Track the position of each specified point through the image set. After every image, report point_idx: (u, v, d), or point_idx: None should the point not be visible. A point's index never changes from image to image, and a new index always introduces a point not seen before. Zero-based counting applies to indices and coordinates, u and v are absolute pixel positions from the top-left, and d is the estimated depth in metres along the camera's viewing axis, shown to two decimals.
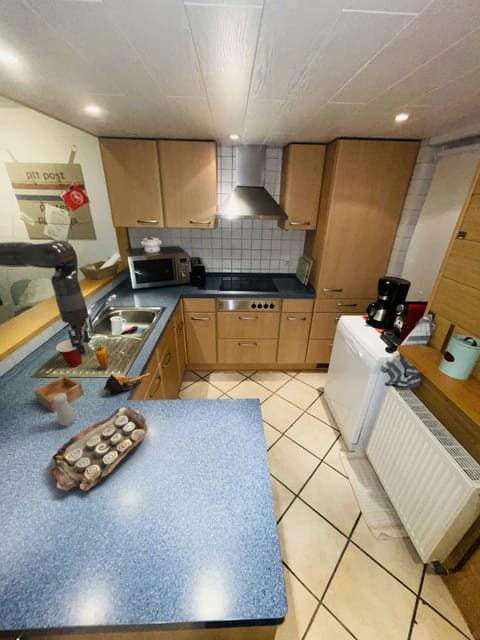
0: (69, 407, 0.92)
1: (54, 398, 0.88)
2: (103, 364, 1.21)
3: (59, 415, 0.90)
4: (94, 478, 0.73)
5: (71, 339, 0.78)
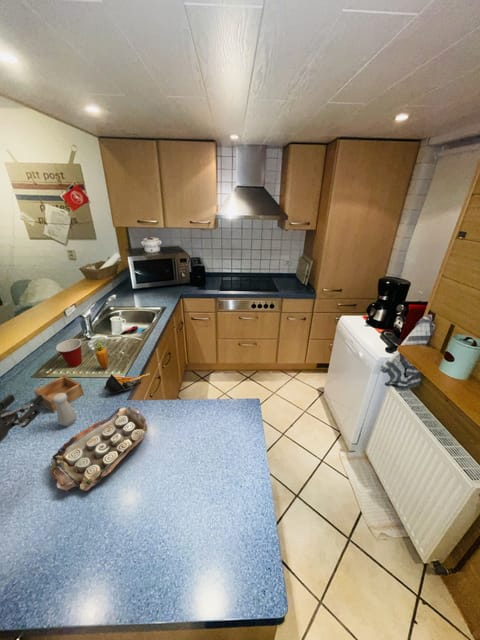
0: (69, 407, 0.92)
1: (54, 398, 0.88)
2: (103, 364, 1.21)
3: (59, 415, 0.90)
4: (94, 478, 0.73)
5: None
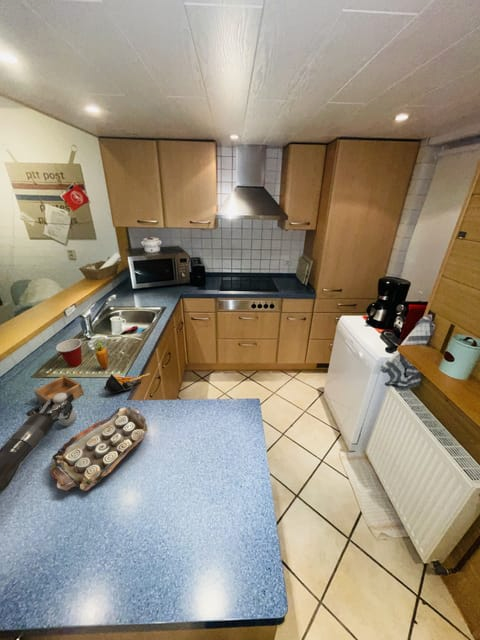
0: None
1: (54, 398, 0.88)
2: (103, 364, 1.21)
3: None
4: (94, 478, 0.73)
5: None
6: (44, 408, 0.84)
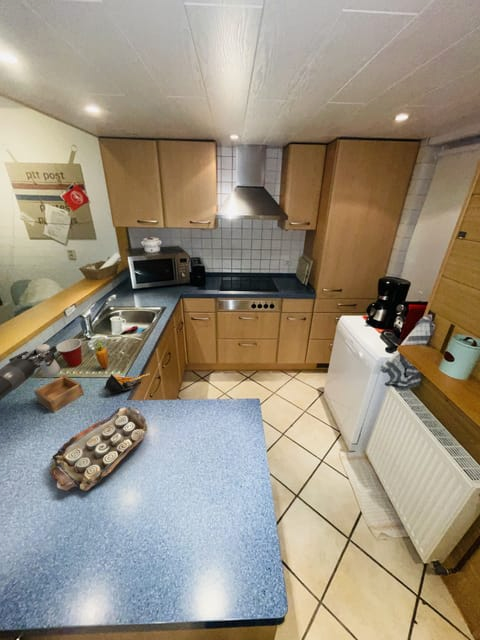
0: None
1: (37, 348, 0.91)
2: (103, 364, 1.21)
3: (42, 365, 0.93)
4: (94, 478, 0.73)
5: None
6: (27, 355, 0.88)
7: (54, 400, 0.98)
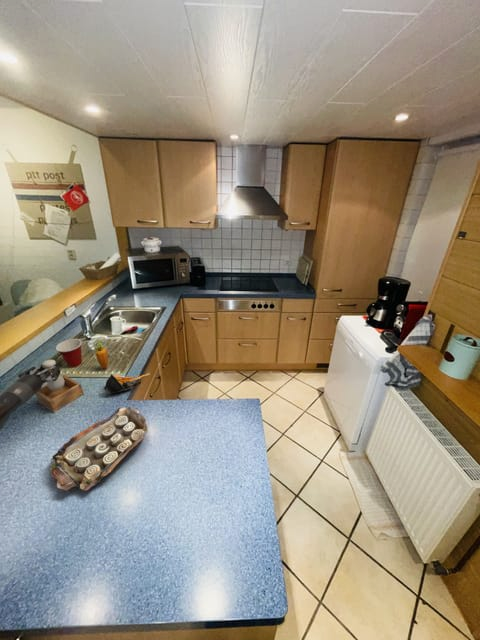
0: None
1: (44, 363, 0.97)
2: (103, 364, 1.21)
3: None
4: (94, 478, 0.73)
5: None
6: (34, 371, 0.94)
7: (54, 400, 0.98)
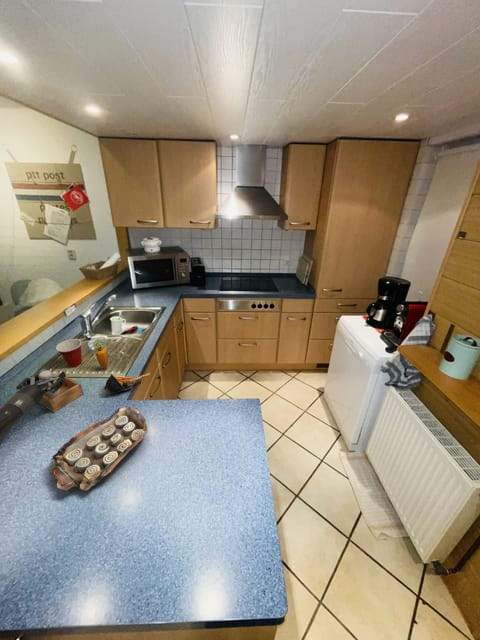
0: None
1: (40, 375, 0.98)
2: (103, 364, 1.21)
3: None
4: (94, 478, 0.73)
5: None
6: (33, 381, 0.94)
7: (54, 400, 0.98)
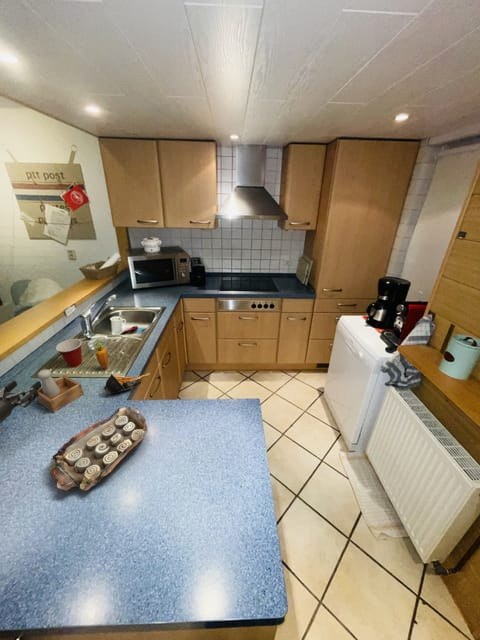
0: (53, 383, 1.02)
1: (39, 374, 0.98)
2: (103, 364, 1.21)
3: (44, 389, 1.00)
4: (94, 478, 0.73)
5: None
6: (1, 393, 0.81)
7: (54, 400, 0.98)
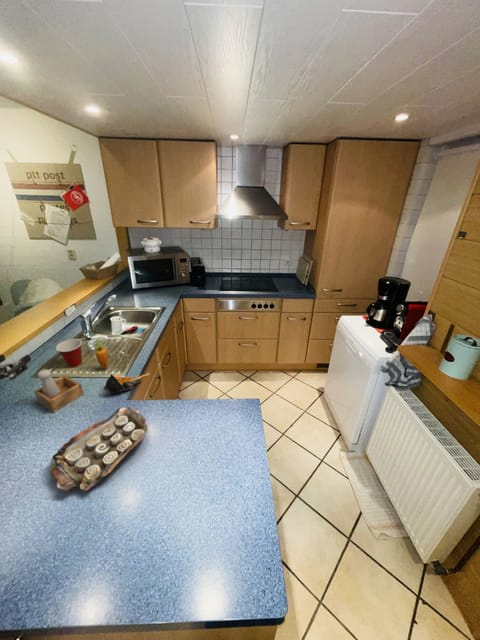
0: (53, 383, 1.02)
1: (39, 374, 0.98)
2: (103, 364, 1.21)
3: (44, 389, 1.00)
4: (94, 478, 0.73)
5: None
6: None
7: (54, 400, 0.98)
